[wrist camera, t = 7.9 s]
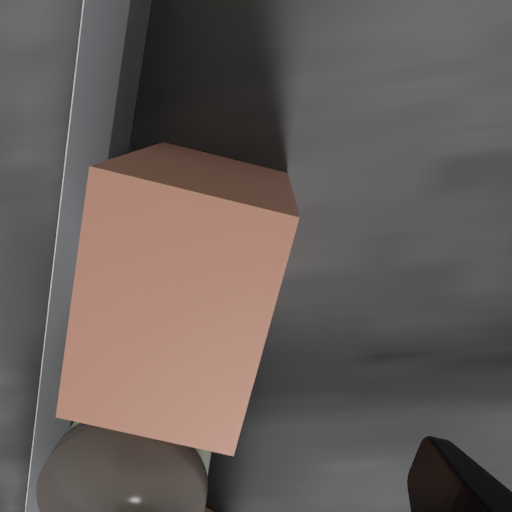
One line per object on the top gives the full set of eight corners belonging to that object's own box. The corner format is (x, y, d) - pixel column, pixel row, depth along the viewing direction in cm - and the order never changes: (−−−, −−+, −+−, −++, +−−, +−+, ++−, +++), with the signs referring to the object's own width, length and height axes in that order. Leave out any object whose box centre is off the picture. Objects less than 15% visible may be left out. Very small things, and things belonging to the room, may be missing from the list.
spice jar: (233, 360, 21) (220, 453, 16) (207, 463, 23) (187, 581, 17) (105, 331, 21) (44, 415, 15) (89, 438, 23) (29, 549, 17)
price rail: (157, -36, 17) (138, -60, 14) (62, 583, 26) (40, 632, 23) (112, -48, 17) (86, -74, 14) (32, 577, 26) (8, 626, 23)
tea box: (287, 172, 19) (299, 217, 11) (246, 328, 21) (233, 456, 13) (159, 141, 19) (82, 164, 11) (131, 301, 21) (50, 416, 13)
